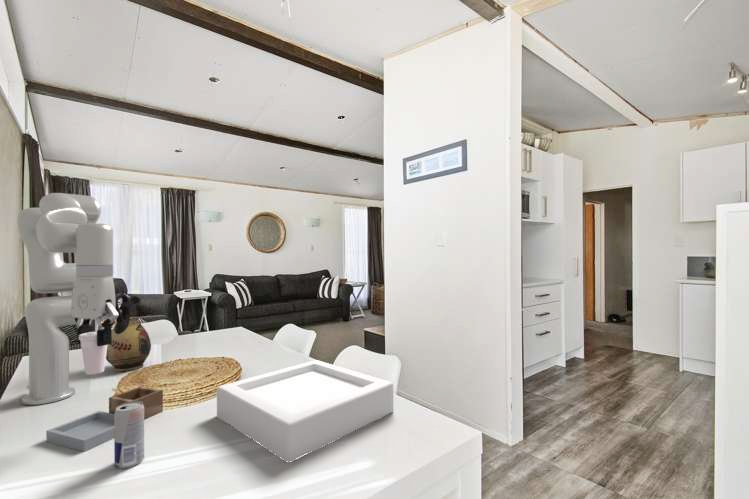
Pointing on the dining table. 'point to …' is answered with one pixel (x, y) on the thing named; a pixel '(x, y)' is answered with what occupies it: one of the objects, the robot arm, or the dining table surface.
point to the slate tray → (84, 431)
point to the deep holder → (140, 400)
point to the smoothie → (93, 352)
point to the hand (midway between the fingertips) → (94, 343)
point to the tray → (303, 406)
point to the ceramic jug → (128, 338)
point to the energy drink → (128, 435)
